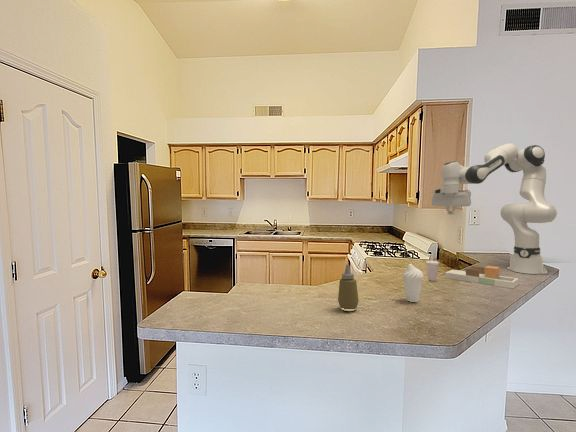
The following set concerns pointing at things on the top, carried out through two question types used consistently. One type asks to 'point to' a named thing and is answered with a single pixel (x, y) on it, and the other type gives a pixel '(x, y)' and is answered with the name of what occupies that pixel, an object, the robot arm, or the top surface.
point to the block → (492, 272)
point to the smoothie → (432, 269)
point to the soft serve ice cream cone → (412, 283)
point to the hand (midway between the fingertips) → (450, 214)
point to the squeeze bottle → (348, 290)
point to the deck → (481, 277)
